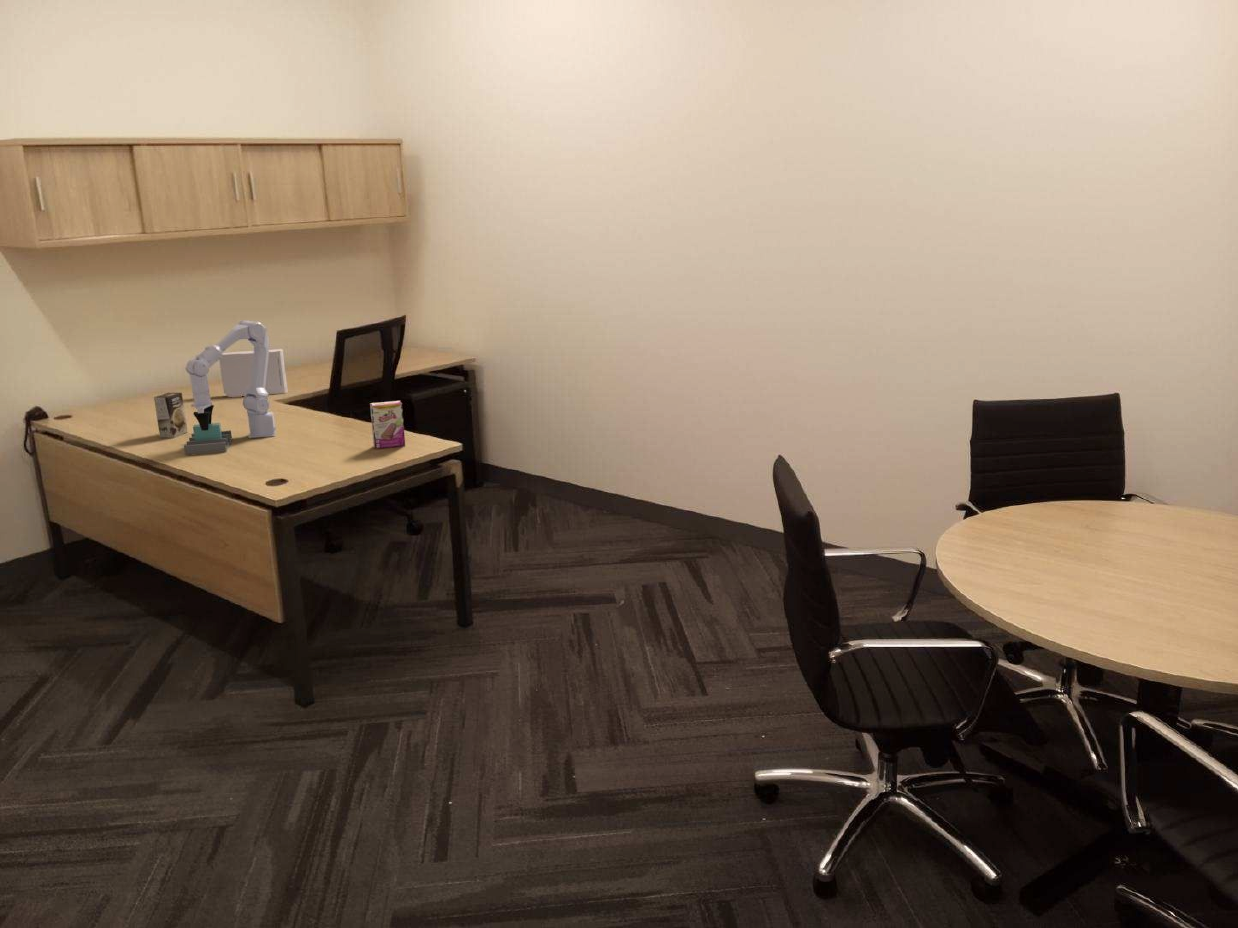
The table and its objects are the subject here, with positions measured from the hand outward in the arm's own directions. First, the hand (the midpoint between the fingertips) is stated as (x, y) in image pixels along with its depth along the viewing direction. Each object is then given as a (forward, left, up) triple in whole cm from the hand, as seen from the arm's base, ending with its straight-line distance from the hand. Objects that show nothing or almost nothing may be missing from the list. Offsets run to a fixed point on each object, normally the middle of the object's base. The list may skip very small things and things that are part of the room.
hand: (206, 427), depth 357 cm
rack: (0, 0, -8) cm, 8 cm away
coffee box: (+16, -24, -8) cm, 30 cm away
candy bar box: (-65, +21, -8) cm, 69 cm away
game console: (-9, -90, -8) cm, 91 cm away
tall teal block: (0, 0, -7) cm, 7 cm away
